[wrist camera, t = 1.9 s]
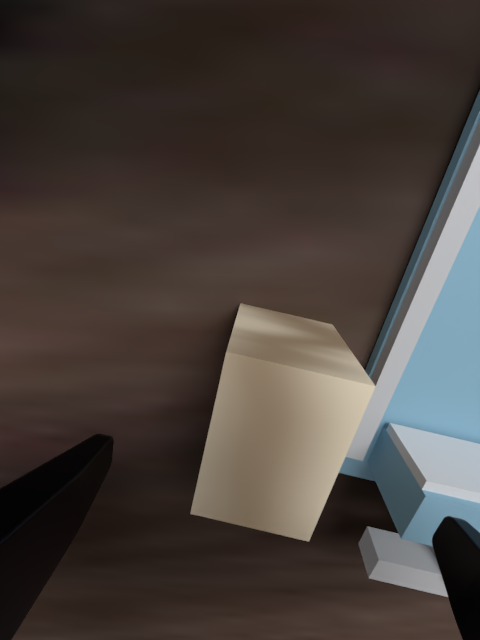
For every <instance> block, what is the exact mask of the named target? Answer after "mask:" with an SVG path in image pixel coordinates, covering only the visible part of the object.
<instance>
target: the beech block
mask: <svg viewBox="0 0 480 640" xmlns="http://www.w3.org/2000/svg"><path fill="white" fill-rule="evenodd" d="M375 387H376V386H375V385H374V383H373V382H372V380H371V379H370V377H369V376H368V375H367V373H366V372H365V370H364V369H363V368H362V366H361V365H360V363H359V362H358V360H357V359H356V358H355V356H354V355H353V353H352V352H351V350H350V349H349V348H348V346H347V345H346V343H345V342H344V340H343V339H342V338H341V336H340V335H339V333H338V332H337V330H336V329H335V328H334V326H333V325H332V324H327V323H323V322H319V321H314V320H310V319H306V318H301V317H297V316H293V315H289V314H284V313H280V312H276V311H271V310H267V309H263V308H258V307H254V306H250V305H245V304H241V303H240V306H239V310H238V313H237V316H236V320H235V323H234V327H233V330H232V334H231V337H230V340H229V344H228V347H227V351H226V355H225V360H224V364H223V369H222V373H221V377H220V382H219V386H218V391H217V395H216V400H215V404H214V409H213V413H212V418H211V422H210V427H209V431H208V436H207V440H206V445H205V449H204V454H203V458H202V463H201V467H200V472H199V476H198V481H197V485H196V490H195V494H194V499H193V503H192V508H191V512H190V514H193V515H198V516H202V517H206V518H210V519H215V520H219V521H223V522H227V523H232V524H236V525H240V526H244V527H249V528H253V529H257V530H261V531H266V532H270V533H274V534H278V535H283V536H287V537H291V538H296V539H300V540H304V541H308V542H309V540H310V538H311V536H312V533H313V531H314V529H315V526H316V524H317V522H318V519H319V517H320V515H321V512H322V510H323V508H324V505H325V503H326V501H327V498H328V496H329V494H330V491H331V489H332V487H333V485H334V482H335V480H336V478H337V475H338V473H339V471H340V468H341V466H342V464H343V461H344V459H345V457H346V454H347V452H348V450H349V447H350V445H351V443H352V440H353V438H354V436H355V433H356V431H357V429H358V426H359V424H360V422H361V419H362V417H363V415H364V412H365V410H366V408H367V405H368V403H369V401H370V398H371V396H372V394H373V391H374V389H375Z"/></svg>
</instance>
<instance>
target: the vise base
mask: <svg viewBox="0 0 480 640" xmlns="http://www.w3.org/2000/svg"><path fill="white" fill-rule="evenodd" d="M365 372H366V373H367V375H368V376H369V377H370V379H371V380H372V382H373V383H374V385H375V386H376V387H375V389H374V391H373V394H372V396H371V398H370V401H369V403H368V405H367V408H366V410H365V412H364V415H363V417H362V419H361V422H360V424H359V426H358V429H357V431H356V433H355V436H354V438H353V440H352V443H351V445H350V447H349V450H348V452H347V454H346V457H345V459H344V461H343V464H342V466H341V468H340V471H339V473H342V474H346V475H350V476H354V477H359V478H363V479H367V480H371V481H375V479H374V477H373V474H372V472H371V470H370V467H369V465H368V463H367V461H368V459H369V457H370V455H371V453H372V450H373V448H374V446H375V444H376V442H377V440H378V438H379V435H380V433H381V431H382V429H383V427H384V426H385V427H388V425H389V423H393V424H397V425H402V426H406V427H410V428H414V429H419V430H423V431H427V432H432V433H436V434H440V435H444V436H449V437H453V438H457V439H461V440H466V441H470V442H474V443H479V444H480V90H479V93H478V95H477V98H476V100H475V102H474V105H473V107H472V110H471V112H470V115H469V117H468V120H467V122H466V124H465V127H464V129H463V132H462V134H461V137H460V139H459V142H458V144H457V146H456V149H455V151H454V154H453V156H452V159H451V161H450V164H449V166H448V168H447V171H446V173H445V176H444V178H443V181H442V183H441V186H440V188H439V190H438V193H437V195H436V198H435V200H434V203H433V205H432V208H431V210H430V212H429V215H428V217H427V220H426V222H425V225H424V227H423V230H422V232H421V234H420V237H419V239H418V242H417V244H416V247H415V249H414V252H413V254H412V256H411V259H410V261H409V264H408V266H407V269H406V271H405V274H404V276H403V278H402V281H401V283H400V286H399V288H398V291H397V293H396V296H395V298H394V300H393V303H392V305H391V308H390V310H389V313H388V315H387V318H386V320H385V323H384V325H383V327H382V330H381V332H380V335H379V337H378V340H377V342H376V345H375V347H374V349H373V352H372V354H371V357H370V359H369V362H368V364H367V367H366V369H365Z"/></svg>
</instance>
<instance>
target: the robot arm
mask: <svg viewBox="0 0 480 640" xmlns="http://www.w3.org/2000/svg"><path fill="white" fill-rule="evenodd" d="M112 453H113V437H111V436H108V435H104V434H96V435H94V436H92V437H90V438H88V439H87V440H85V441H83V442H81V443H80V444H78V445H76V446H74V447H73V448H71V449H69V450H67V451H65V452H64V453H62V454H60V455H58V456H57V457H55V458H53V459H51V460H50V461H48V462H46V463H44V464H43V465H41V466H39V467H37V468H36V469H34V470H32V471H30V472H29V473H27V474H25V475H23V476H21V477H20V478H18V479H16V480H14V481H13V482H11V483H9V484H7V485H6V486H4V487H2V488H0V640H11V639H12V638H13V636H14V635H15V633H16V631H17V630H18V628H19V626H20V625H21V623H22V622H23V620H24V618H25V617H26V615H27V614H28V612H29V610H30V609H31V607H32V605H33V604H34V602H35V601H36V599H37V597H38V596H39V594H40V592H41V591H42V589H43V588H44V586H45V584H46V583H47V581H48V580H49V578H50V576H51V575H52V573H53V571H54V570H55V568H56V567H57V565H58V563H59V562H60V560H61V558H62V557H63V555H64V554H65V552H66V550H67V549H68V547H69V545H70V544H71V542H72V541H73V539H74V537H75V535H76V534H77V532H78V530H79V528H80V526H81V524H82V522H83V520H84V518H85V516H86V514H87V512H88V510H89V508H90V506H91V504H92V502H93V500H94V498H95V496H96V494H97V492H98V490H99V488H100V486H101V484H102V482H103V480H104V478H105V476H106V474H107V472H108V470H109V468H110V465H111V462H112ZM432 546H433V549H434V553H435V556H436V559H437V562H438V566H439V569H440V572H441V575H442V578H443V582H444V585H445V588H446V591H447V595H448V598H449V601H450V604H451V608H452V611H453V614H454V617H455V620H456V623H457V625H458V628H459V631H460V633H461V636H462V639H463V640H480V533H479V532H478V531H477V530H476V529H475V528H474V527H473V526H471V525H470V524H469V523H468V522H467V521H465V520H463V519H461V518H457V517H452V516H446V517H444V518H443V520H442V522H441V523H440V525H439V526H438V528H437V530H436V531H435V533H434V534H433V537H432Z"/></svg>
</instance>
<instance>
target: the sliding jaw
mask: <svg viewBox="0 0 480 640" xmlns="http://www.w3.org/2000/svg"><path fill="white" fill-rule="evenodd" d="M367 463H368V465H369V467H370V470H371V472H372V474H373V477H374V479H375V481H376V483H377V486H378V488H379V490H380V493H381V495H382V497H383V499H384V502H385V504H386V506H387V508H388V511H389V513H390V515H391V518H392V520H393V522H394V524H395V527H396V529H397V531H398V533H394V532H390V531H385V530H381V529H377V528H373V527H368V526H367V528H366V530H365V532H364V534H363V535H362V537H361V539H360V541H359V543H358V545H359V548H360V551H361V555H362V558H363V561H364V565H365V568H366V571H367V575H368V578H370V579H374V580H378V581H383V582H387V583H391V584H395V585H399V586H404V587H408V588H412V589H416V590H421V591H425V592H429V593H433V594H438V595H442V596H446V597H448V595H447V591H446V588H445V585H444V582H443V578H442V575H441V572H440V569H439V566H438V562H437V559H436V556H435V553H434V549H433V546H432V537H433V534H434V533H435V531H436V530H437V528H438V526H439V525H440V523H441V522H442V520H443V518H444V517H446V516H452V517H457V518H461V519H463V520H465V521H467V522H468V523H469V524H470V525H471V526H473V527H474V528H475V529H476V530H477V531H478V532H479V533H480V444H479V443H474V442H470V441H466V440H461V439H457V438H453V437H449V436H444V435H440V434H436V433H432V432H427V431H423V430H419V429H414V428H410V427H406V426H402V425H397V424H393V423H389V425H388V427H385V426H384V427H383V429H382V431H381V433H380V435H379V438H378V440H377V442H376V444H375V446H374V448H373V450H372V453H371V455H370V457H369V459H368V461H367Z"/></svg>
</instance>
